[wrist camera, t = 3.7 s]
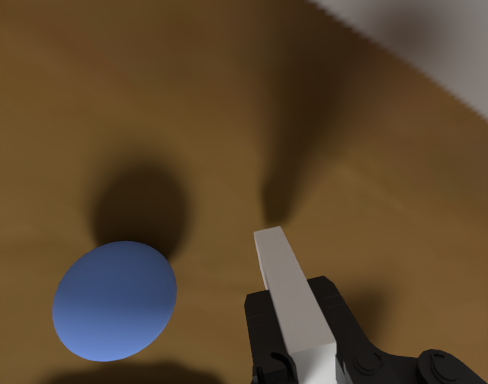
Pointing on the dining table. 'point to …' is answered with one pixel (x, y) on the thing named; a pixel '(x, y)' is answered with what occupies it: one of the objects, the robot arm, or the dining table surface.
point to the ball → (114, 301)
